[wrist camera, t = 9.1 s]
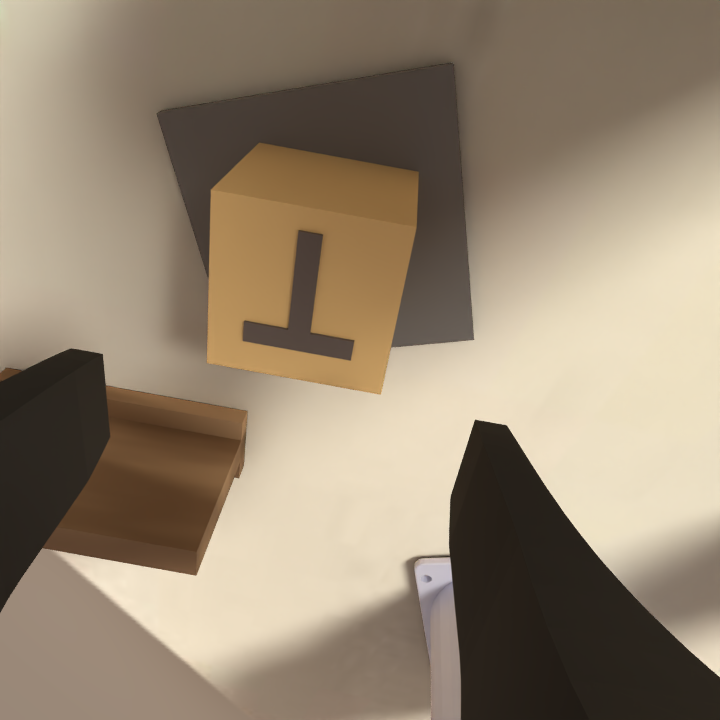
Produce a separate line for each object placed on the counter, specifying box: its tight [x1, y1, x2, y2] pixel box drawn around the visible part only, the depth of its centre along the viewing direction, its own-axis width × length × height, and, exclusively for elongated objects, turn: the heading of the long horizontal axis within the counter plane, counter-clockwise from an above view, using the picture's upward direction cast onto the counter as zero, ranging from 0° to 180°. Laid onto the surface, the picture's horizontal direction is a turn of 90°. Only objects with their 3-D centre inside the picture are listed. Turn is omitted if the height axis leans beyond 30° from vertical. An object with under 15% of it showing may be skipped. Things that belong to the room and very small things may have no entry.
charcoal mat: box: [157, 63, 474, 347], centre depth 20 cm, size 9×9×1 cm
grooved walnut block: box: [0, 368, 247, 575], centre depth 23 cm, size 3×10×6 cm, turn 81°
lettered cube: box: [207, 143, 419, 394], centre depth 18 cm, size 5×5×5 cm
